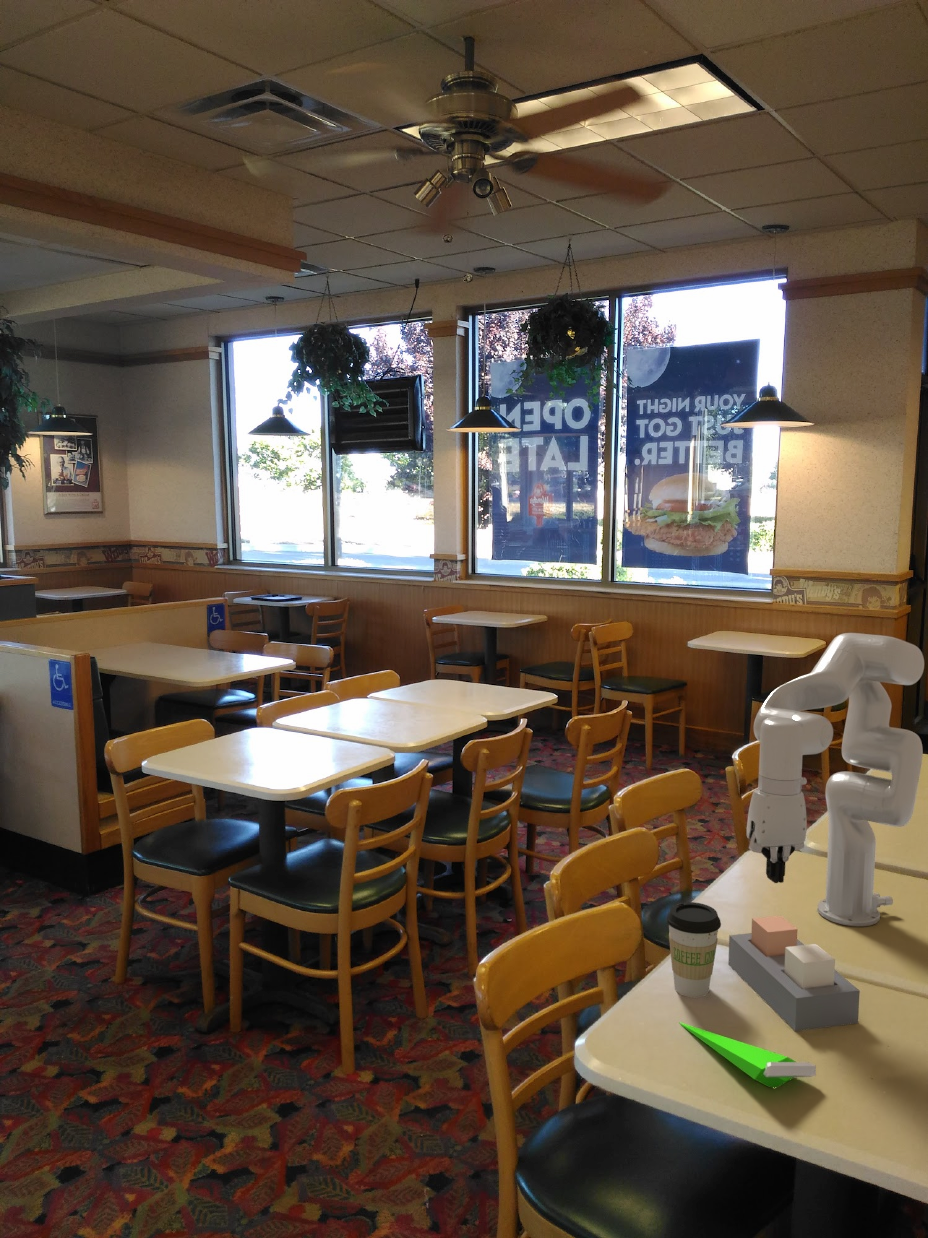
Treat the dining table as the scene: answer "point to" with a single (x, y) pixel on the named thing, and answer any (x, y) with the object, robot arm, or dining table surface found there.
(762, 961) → the key panel
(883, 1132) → the dining table surface
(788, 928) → the terracotta key
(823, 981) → the cream key
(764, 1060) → the green triangular piece
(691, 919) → the coffee cup
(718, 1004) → the dining table surface
